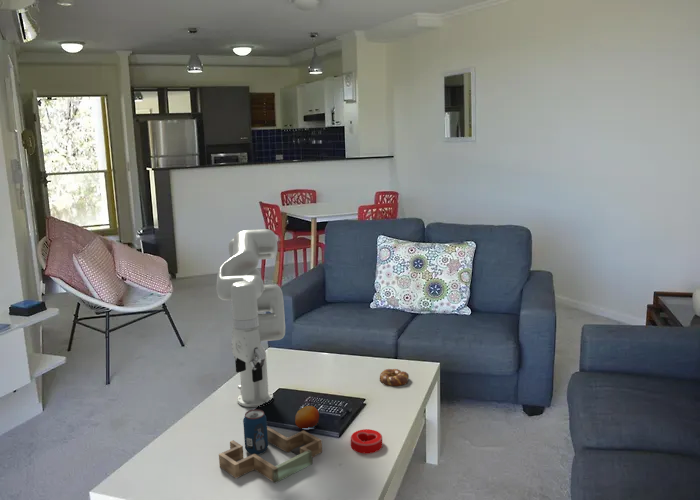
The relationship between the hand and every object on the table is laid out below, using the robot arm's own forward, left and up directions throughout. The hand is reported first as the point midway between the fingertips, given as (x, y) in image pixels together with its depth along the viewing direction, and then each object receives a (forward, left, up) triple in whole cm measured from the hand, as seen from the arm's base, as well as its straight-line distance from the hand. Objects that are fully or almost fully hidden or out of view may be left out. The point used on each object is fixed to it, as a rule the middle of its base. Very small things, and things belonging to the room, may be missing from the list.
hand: (249, 375), depth 189 cm
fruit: (+6, +17, -22) cm, 28 cm away
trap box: (+13, -3, -22) cm, 25 cm away
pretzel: (+2, +63, -22) cm, 67 cm away
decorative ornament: (+28, +22, -22) cm, 42 cm away
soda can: (+6, -3, -22) cm, 23 cm away
